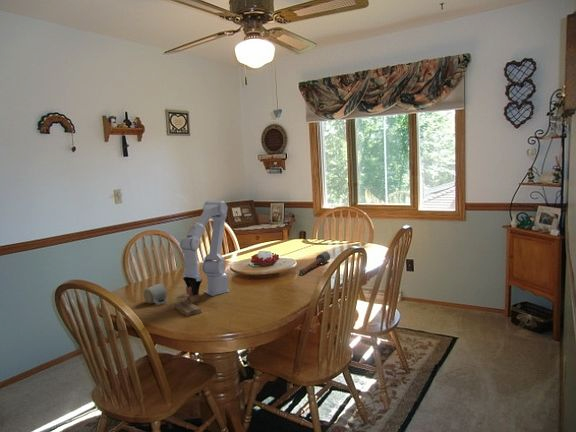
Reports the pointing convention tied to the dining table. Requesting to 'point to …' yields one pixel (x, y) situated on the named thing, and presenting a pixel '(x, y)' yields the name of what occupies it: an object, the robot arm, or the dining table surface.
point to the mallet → (316, 262)
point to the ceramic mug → (155, 294)
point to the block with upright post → (189, 295)
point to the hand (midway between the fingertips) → (193, 293)
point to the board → (187, 308)
